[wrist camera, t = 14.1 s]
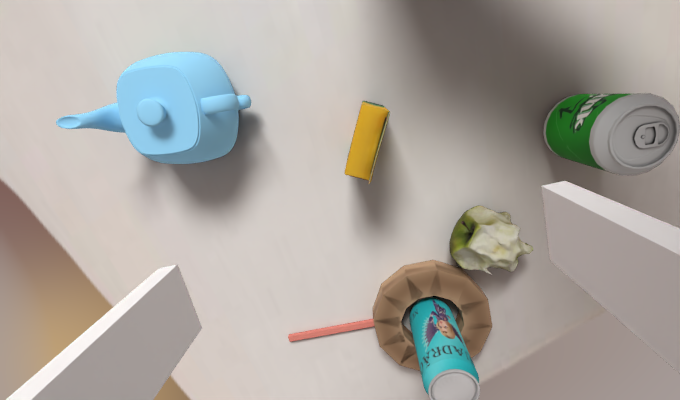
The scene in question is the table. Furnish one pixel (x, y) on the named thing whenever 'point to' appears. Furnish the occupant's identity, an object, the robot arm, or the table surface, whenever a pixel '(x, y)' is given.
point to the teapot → (171, 109)
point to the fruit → (486, 241)
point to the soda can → (613, 131)
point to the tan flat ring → (426, 283)
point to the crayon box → (367, 140)
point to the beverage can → (442, 352)
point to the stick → (331, 330)
